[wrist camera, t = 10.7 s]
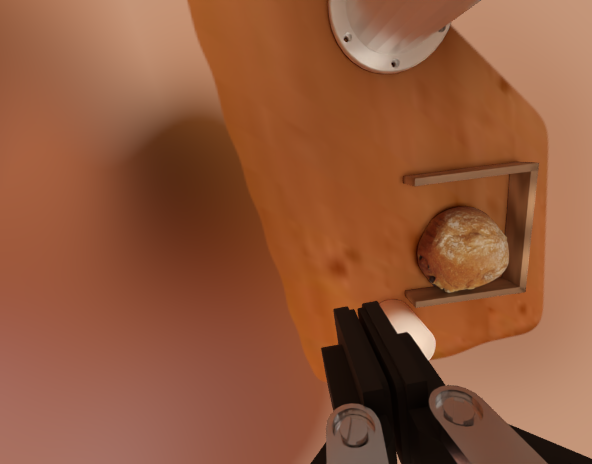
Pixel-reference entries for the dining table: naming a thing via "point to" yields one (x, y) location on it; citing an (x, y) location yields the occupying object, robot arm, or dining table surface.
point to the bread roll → (462, 250)
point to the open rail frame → (516, 231)
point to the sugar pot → (409, 325)
